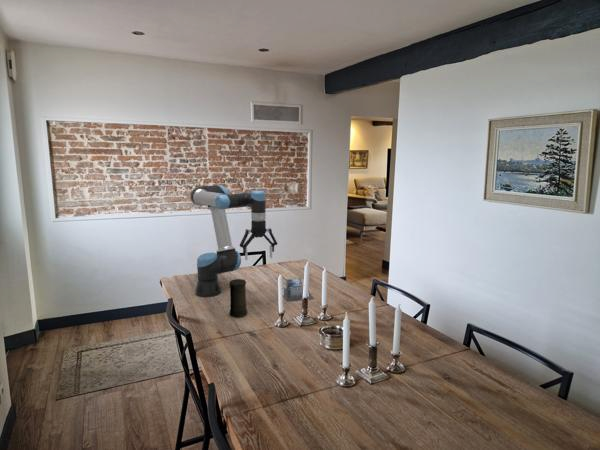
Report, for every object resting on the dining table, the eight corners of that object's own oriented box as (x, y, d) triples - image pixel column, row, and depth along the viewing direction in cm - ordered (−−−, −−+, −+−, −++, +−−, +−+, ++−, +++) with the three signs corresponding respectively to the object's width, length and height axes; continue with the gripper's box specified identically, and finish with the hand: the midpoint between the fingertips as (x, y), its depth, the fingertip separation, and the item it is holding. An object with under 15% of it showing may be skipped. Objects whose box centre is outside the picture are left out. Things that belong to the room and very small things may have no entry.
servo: (290, 291, 237) (290, 277, 236) (297, 290, 239) (297, 276, 237) (294, 296, 229) (294, 281, 227) (301, 295, 230) (301, 281, 228)
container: (248, 311, 209) (248, 278, 205) (244, 318, 200) (244, 284, 197) (232, 310, 210) (231, 278, 206) (227, 317, 201) (226, 284, 198)
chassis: (279, 289, 241) (279, 277, 240) (304, 287, 245) (304, 275, 244) (287, 301, 222) (286, 289, 221) (313, 298, 227) (314, 286, 225)
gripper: (236, 222, 201) (236, 262, 205) (283, 220, 209) (282, 258, 213) (233, 219, 208) (234, 258, 212) (279, 217, 215) (279, 255, 220)
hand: (258, 258), depth 212 cm, fingers open, 13 cm apart
